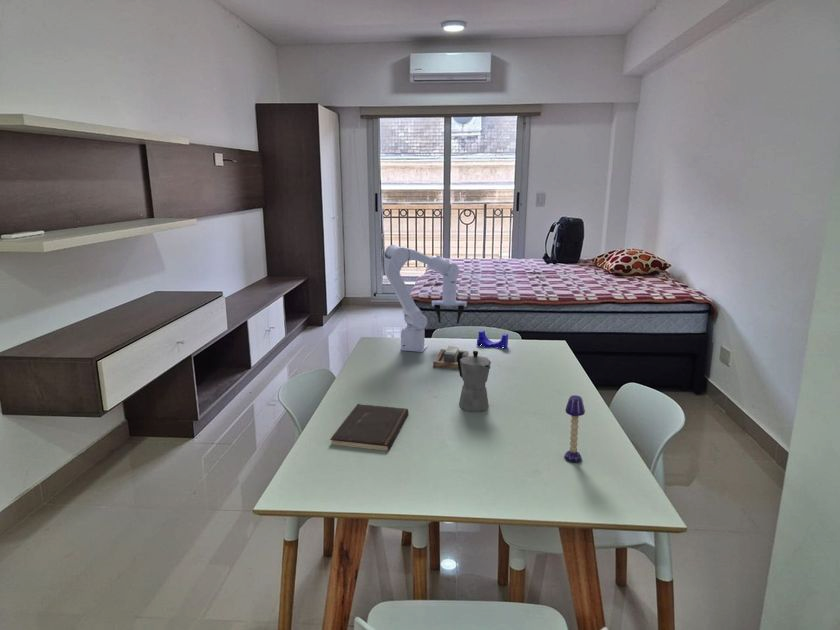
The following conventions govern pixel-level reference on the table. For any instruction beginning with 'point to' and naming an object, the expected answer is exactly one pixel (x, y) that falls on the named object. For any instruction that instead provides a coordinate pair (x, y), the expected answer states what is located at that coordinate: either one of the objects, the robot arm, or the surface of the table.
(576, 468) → the table surface
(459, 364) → the coffeepot
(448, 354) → the sleeve block
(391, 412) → the hardcover book
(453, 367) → the tray
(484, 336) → the cable clip
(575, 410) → the toy lamp
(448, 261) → the robot arm
